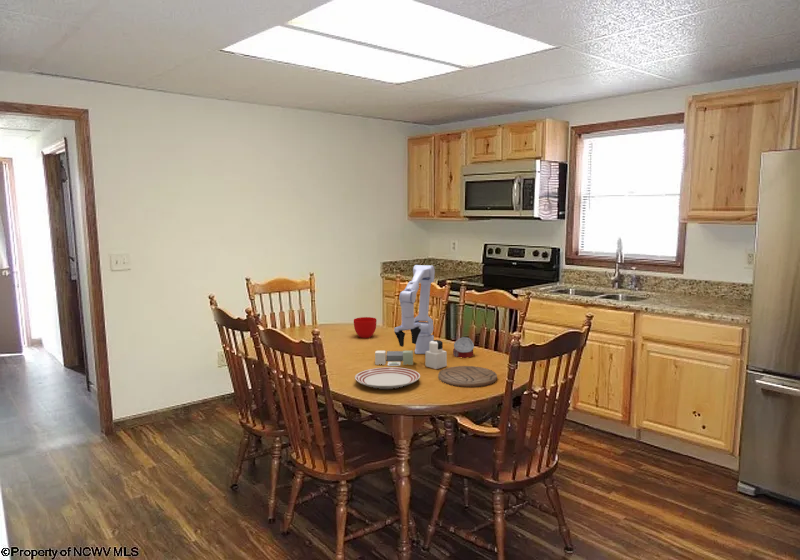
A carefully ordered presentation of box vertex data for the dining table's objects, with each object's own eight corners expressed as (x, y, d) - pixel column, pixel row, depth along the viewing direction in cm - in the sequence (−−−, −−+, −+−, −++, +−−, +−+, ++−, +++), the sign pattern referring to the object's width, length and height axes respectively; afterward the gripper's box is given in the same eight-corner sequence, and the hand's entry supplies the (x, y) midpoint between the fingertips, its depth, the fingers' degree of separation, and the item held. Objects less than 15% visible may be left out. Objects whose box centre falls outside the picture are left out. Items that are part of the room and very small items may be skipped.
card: (400, 362, 262) (400, 361, 262) (400, 365, 256) (400, 365, 256) (388, 362, 262) (388, 361, 262) (387, 365, 256) (387, 365, 256)
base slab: (403, 357, 272) (403, 351, 272) (403, 361, 264) (403, 355, 264) (387, 357, 272) (387, 351, 272) (386, 361, 264) (386, 355, 264)
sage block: (413, 362, 262) (412, 350, 261) (412, 364, 258) (412, 353, 257) (403, 362, 262) (403, 350, 262) (403, 364, 258) (402, 353, 257)
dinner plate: (347, 377, 240) (346, 370, 240) (405, 369, 250) (405, 362, 250) (367, 397, 215) (366, 389, 214) (430, 388, 225) (430, 380, 225)
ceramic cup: (381, 333, 322) (380, 316, 321) (373, 339, 306) (372, 322, 304) (359, 332, 325) (359, 315, 324) (350, 338, 309) (350, 321, 307)
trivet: (474, 367, 254) (474, 363, 254) (509, 382, 232) (509, 377, 232) (427, 375, 243) (427, 371, 242) (458, 391, 221) (458, 387, 220)
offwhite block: (385, 362, 263) (385, 350, 262) (385, 364, 258) (384, 353, 257) (376, 362, 263) (375, 350, 262) (375, 364, 258) (375, 353, 258)
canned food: (473, 363, 275) (482, 347, 271) (460, 365, 268) (469, 349, 264) (458, 349, 281) (466, 333, 278) (445, 351, 274) (453, 335, 270)
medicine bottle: (435, 363, 260) (435, 338, 258) (447, 366, 255) (447, 340, 253) (425, 366, 255) (425, 341, 253) (436, 369, 250) (436, 343, 248)
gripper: (414, 313, 265) (414, 340, 266) (390, 317, 256) (390, 345, 257) (423, 315, 259) (423, 343, 261) (399, 319, 250) (399, 348, 252)
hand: (407, 344), depth 259 cm, fingers open, 7 cm apart
